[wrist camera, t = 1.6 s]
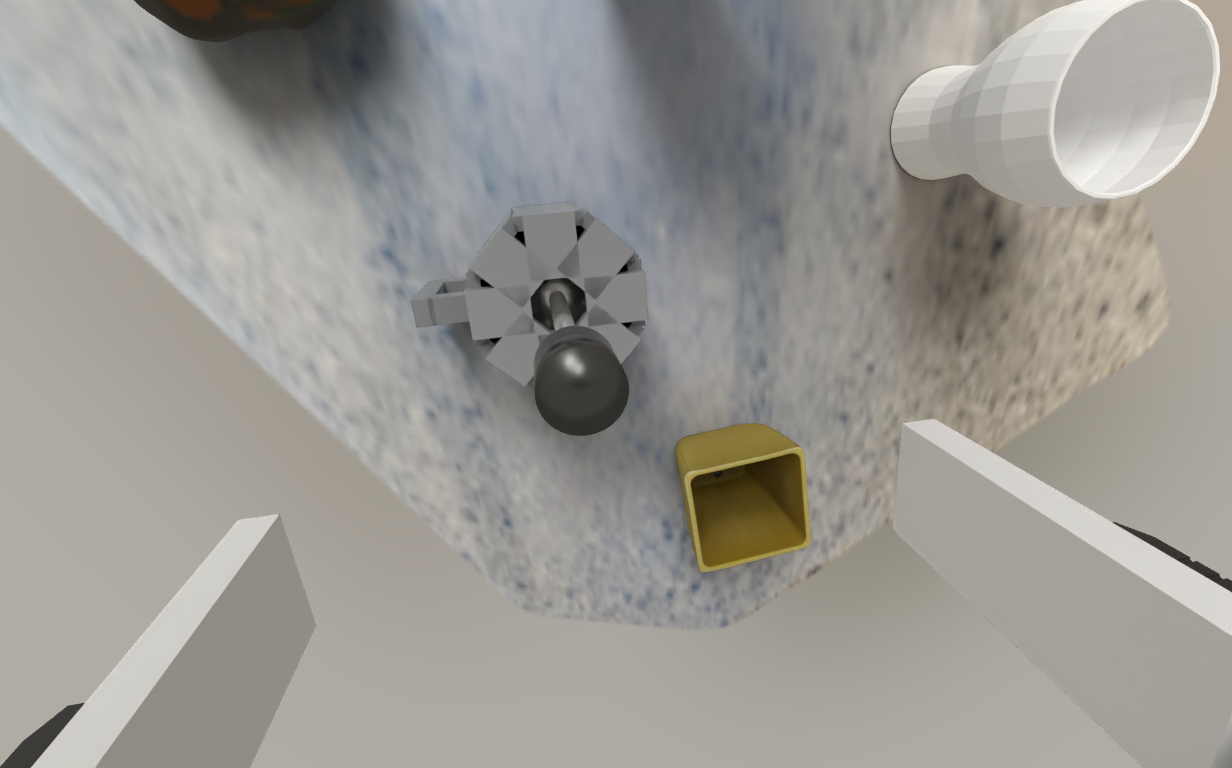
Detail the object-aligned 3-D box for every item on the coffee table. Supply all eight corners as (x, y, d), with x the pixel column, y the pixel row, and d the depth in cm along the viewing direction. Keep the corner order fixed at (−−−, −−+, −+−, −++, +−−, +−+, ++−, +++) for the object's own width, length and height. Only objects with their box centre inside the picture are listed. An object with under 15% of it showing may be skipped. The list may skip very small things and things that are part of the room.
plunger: (495, 248, 34) (471, 311, 18) (604, 237, 34) (669, 289, 19) (511, 353, 36) (501, 488, 20) (613, 341, 37) (678, 462, 21)
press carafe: (420, 215, 40) (386, 228, 30) (612, 197, 42) (640, 204, 32) (447, 354, 44) (424, 407, 34) (623, 333, 45) (652, 378, 35)
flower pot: (671, 511, 51) (700, 576, 43) (656, 423, 48) (683, 475, 40) (766, 487, 52) (812, 547, 44) (756, 399, 49) (805, 445, 40)
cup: (848, 102, 42) (1012, 66, 28) (976, 11, 41) (1210, -73, 27) (904, 227, 46) (1071, 250, 32) (1021, 146, 45) (1247, 133, 31)
